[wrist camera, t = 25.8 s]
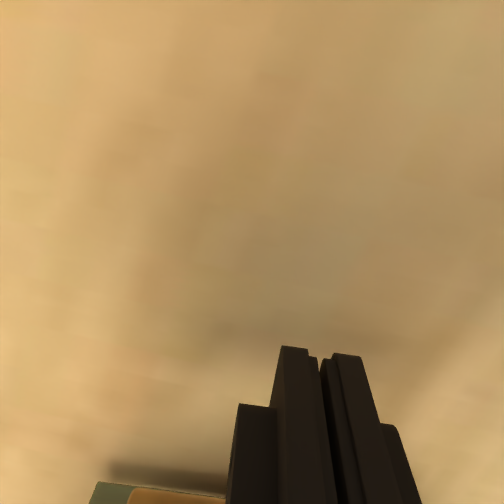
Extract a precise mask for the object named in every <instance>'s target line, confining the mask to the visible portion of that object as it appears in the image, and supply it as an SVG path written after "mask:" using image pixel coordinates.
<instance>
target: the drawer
mask: <svg viewBox="0 0 504 504" xmlns="http://www.w3.org/2000/svg"><path fill="white" fill-rule="evenodd" d="M225 501H226V498H219V497H212V496H204V495H197V494H189V493H182V492H174V491H167V490H159V489H152V488H144V487H137V486H129V485H122V484H114V483H107V482H98V483H97V485H96V487H95V490H94V492H93V495H92V497H91V500H90V502H89V504H225Z"/></svg>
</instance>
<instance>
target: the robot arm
mask: <svg viewBox="0 0 504 504" xmlns="http://www.w3.org/2000/svg"><path fill="white" fill-rule="evenodd" d="M225 504H422V503H421V500H420V497H419V494H418V490H417V487H416V484H415V481H414V478H413V475H412V472H411V469H410V466H409V463H408V460H407V457H406V454H405V451H404V448H403V445H402V442H401V439H400V436H399V433H398V431H397V429H396V427H395V426H394V425H390V424H383V423H380V421H379V418H378V414H377V411H376V407H375V404H374V400H373V397H372V393H371V390H370V386H369V383H368V379H367V376H366V372H365V369H364V365H363V362H362V359H361V357H359V356H353V355H346V354H339V353H334V354H333V355H332V357H331V359H326V358H324V359H323V360H322V363H321V367H320V371H319V368H318V361H317V358H316V357H312V356H309V354H308V349H304V348H297V347H290V346H283V345H282V346H281V349H280V354H279V359H278V364H277V369H276V374H275V379H274V384H273V389H272V395H271V400H270V405H269V407H262V406H255V405H248V404H241V403H239V406H238V411H237V417H236V423H235V429H234V435H233V442H232V449H231V457H230V465H229V473H228V483H227V492H226V501H225Z"/></svg>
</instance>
